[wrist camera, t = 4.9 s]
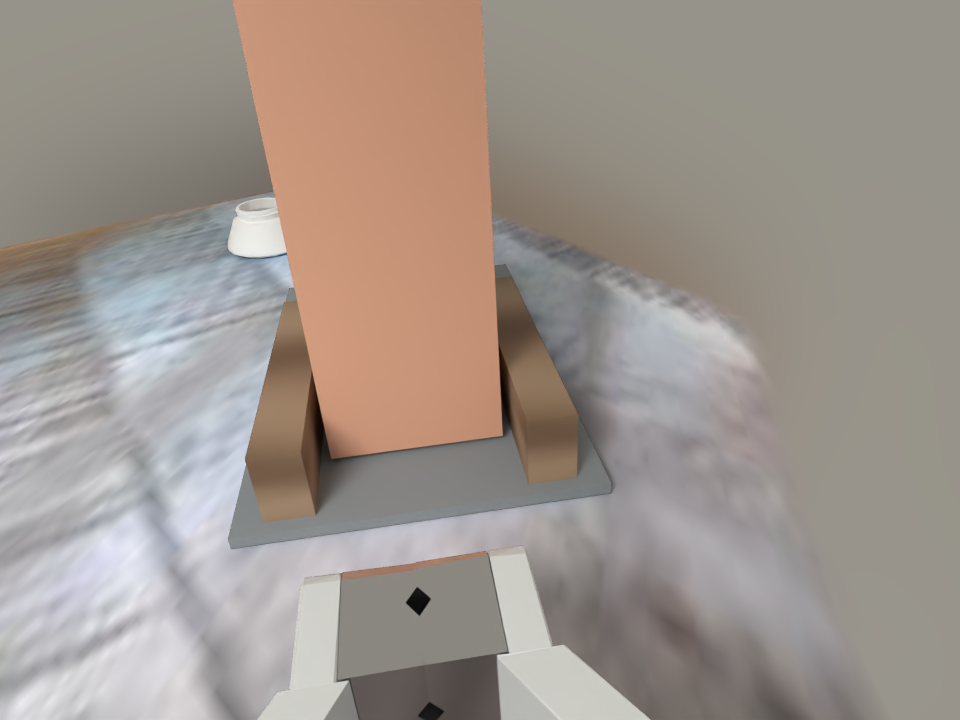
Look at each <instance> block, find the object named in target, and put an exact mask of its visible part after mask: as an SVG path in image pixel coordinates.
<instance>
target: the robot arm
mask: <svg viewBox="0 0 960 720" xmlns="http://www.w3.org/2000/svg"><path fill="white" fill-rule="evenodd" d="M257 720H651V719H650V718H648V717H647V716H646V715H645V714H644V713H643V712H642V711H640V710H639V709H638V708H637V707H636V706H635V705H634V704H632V703H631V702H630V701H629V700H628V699H627V698H625V697H624V696H623V695H622V694H621V693H620V692H619V691H617V690H616V689H615V688H614V687H613V686H612V685H611V684H609V683H608V682H607V681H606V680H605V679H604V678H602V677H601V676H600V675H599V674H598V673H597V672H596V671H594V670H593V669H592V668H591V667H590V666H589V665H588V664H586V663H585V662H584V661H583V660H582V659H581V658H580V657H578V656H577V655H576V654H575V653H574V652H573V651H571V650H570V649H569V648H568V647H567V646H566V645H557V646H553V643H552V639H551V636H550V632H549V629H548V625H547V622H546V618H545V615H544V611H543V607H542V604H541V600H540V597H539V593H538V590H537V586H536V583H535V579H534V575H533V572H532V568H531V565H530V561H529V558H528V554H527V551H526V549H525V548H524V547H523V546H516V547H510V548H503V549H497V550H491V551H487V553H486V551H483V552H477V553H471V554H465V555H458V556H452V557H446V558H440V559H434V560H428V561H421V562H416V563H414V564H406V565H398V566H390V567H382V568H374V569H366V570H358V571H350V572H343V573H339V574H331V575H323V576H315V577H307V578H304V581H303V583H302V586H301V588H300V597H299V606H298V615H297V624H296V633H295V643H294V652H293V661H292V670H291V679H290V688H289V690H286V691H280V692H277V693H276V695H275V696H274V697H273V699H272V700H271V701H270V703H269V704H268V705H267V707H266V708H265V709H264V711H263V712H262V713H261V715H260V716H259V717H258V719H257Z"/></svg>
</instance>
